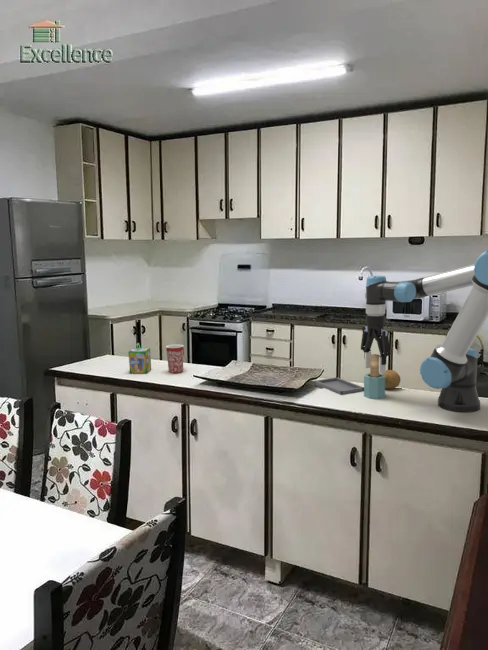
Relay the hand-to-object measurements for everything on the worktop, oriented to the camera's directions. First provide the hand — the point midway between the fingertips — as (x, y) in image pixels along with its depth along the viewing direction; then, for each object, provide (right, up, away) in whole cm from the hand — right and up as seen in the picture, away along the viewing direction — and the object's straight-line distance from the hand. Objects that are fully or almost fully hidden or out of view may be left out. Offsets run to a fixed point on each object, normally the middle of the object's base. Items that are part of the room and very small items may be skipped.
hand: (374, 370), depth 213 cm
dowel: (0, -11, +2) cm, 11 cm away
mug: (-87, -6, +57) cm, 104 cm away
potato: (+10, -10, +15) cm, 20 cm away
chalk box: (-106, -6, +58) cm, 121 cm away
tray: (-12, -10, +16) cm, 22 cm away
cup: (0, -12, +2) cm, 12 cm away
